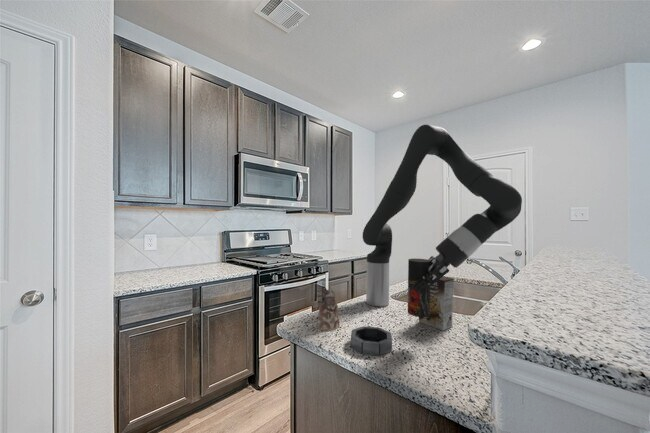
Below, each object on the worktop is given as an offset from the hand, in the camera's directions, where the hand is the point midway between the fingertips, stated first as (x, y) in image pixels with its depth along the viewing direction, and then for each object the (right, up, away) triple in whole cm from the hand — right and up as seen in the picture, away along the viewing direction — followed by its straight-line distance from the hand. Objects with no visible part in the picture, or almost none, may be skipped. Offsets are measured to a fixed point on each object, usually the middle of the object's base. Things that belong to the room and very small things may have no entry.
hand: (412, 287), depth 79 cm
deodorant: (+2, -8, 0) cm, 8 cm away
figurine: (-24, -16, +12) cm, 31 cm away
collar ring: (-12, -16, -1) cm, 20 cm away
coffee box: (+12, -17, +15) cm, 25 cm away
